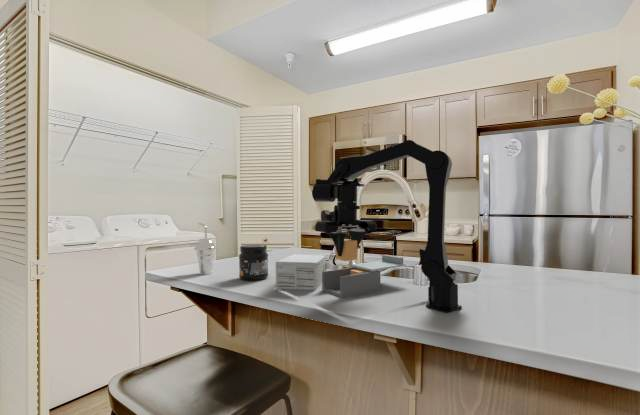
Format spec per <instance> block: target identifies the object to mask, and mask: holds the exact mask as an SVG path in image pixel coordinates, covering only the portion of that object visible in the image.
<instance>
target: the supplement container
mask: <svg viewBox="0 0 640 415" xmlns="http://www.w3.org/2000/svg"><path fill="white" fill-rule="evenodd" d="M267 248H268V247H267V245H266V244H262V243H261V244H259V243H258V244H257V243H256V244H254V243H253V244H244V245H241V246H240V248H239V249H240V250H239V251H240V254H239V255H238V258H239V260H238V262H239V264H238V265H239V270H238V271H239V275H238V277H239V279H240V280H242V281H245V280H247V281H248V282H257V280H258V281H261V280H265V279H268V276H269V259H268V258H269V254H268V252H267V251H268V250H267ZM247 281H246V282H247Z"/></svg>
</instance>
